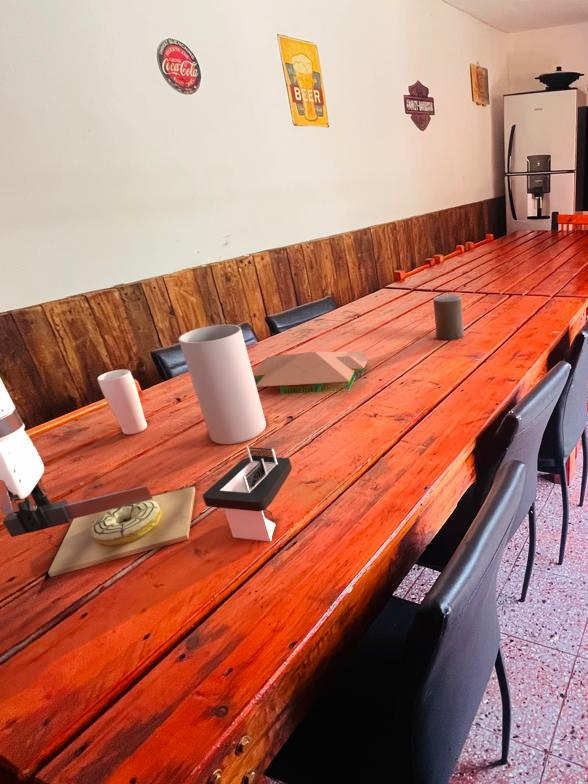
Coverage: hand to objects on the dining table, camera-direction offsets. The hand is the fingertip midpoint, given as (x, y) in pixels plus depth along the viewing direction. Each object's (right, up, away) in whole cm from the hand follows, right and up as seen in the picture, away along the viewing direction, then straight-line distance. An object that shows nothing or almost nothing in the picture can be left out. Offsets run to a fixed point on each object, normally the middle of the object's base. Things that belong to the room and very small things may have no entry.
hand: (41, 523), depth 85 cm
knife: (+5, +1, +2) cm, 5 cm away
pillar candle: (+62, +43, +95) cm, 122 cm away
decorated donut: (+10, -3, +7) cm, 13 cm away
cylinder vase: (+15, +12, +38) cm, 43 cm away
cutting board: (+10, -3, +7) cm, 13 cm away
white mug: (-13, +13, +42) cm, 46 cm away
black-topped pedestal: (+34, -2, +7) cm, 35 cm away
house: (+23, +27, +67) cm, 75 cm away
